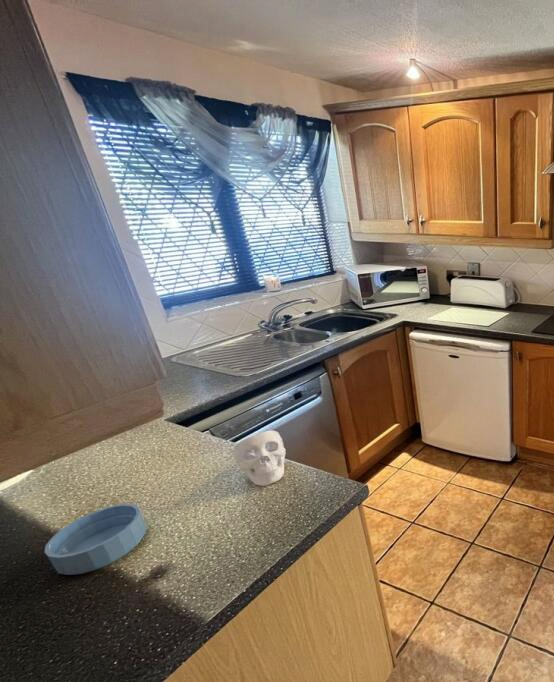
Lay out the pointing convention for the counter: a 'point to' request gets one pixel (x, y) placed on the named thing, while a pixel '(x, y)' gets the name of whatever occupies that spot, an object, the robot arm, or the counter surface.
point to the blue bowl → (96, 539)
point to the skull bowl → (261, 457)
